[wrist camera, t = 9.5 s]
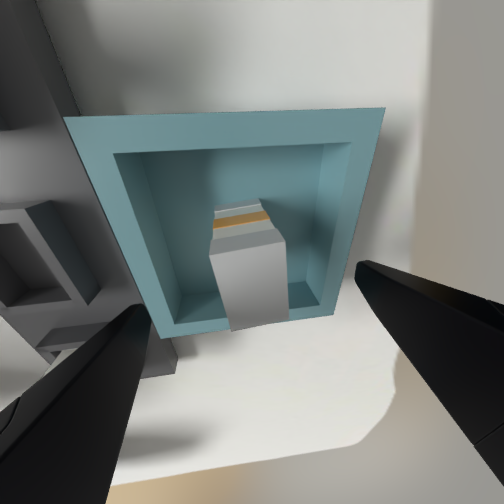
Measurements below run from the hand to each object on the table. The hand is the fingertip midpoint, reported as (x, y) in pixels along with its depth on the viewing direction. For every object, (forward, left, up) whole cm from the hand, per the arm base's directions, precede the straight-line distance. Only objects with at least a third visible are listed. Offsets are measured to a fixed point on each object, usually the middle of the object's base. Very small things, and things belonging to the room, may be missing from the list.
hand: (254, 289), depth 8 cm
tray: (0, 0, -6) cm, 7 cm away
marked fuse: (0, 0, -6) cm, 6 cm away
